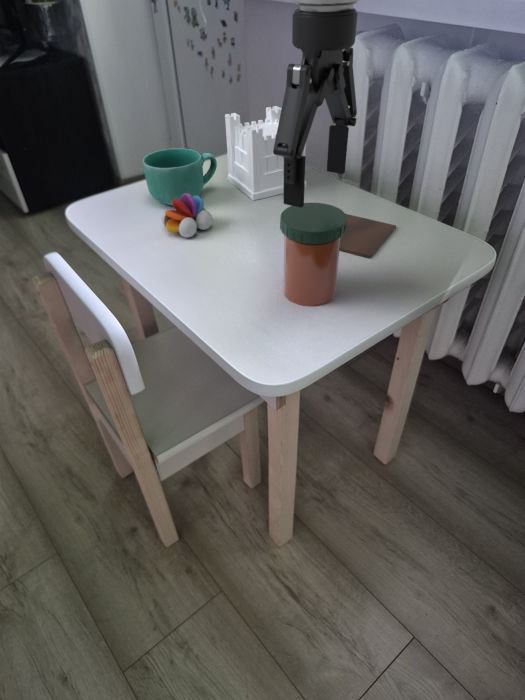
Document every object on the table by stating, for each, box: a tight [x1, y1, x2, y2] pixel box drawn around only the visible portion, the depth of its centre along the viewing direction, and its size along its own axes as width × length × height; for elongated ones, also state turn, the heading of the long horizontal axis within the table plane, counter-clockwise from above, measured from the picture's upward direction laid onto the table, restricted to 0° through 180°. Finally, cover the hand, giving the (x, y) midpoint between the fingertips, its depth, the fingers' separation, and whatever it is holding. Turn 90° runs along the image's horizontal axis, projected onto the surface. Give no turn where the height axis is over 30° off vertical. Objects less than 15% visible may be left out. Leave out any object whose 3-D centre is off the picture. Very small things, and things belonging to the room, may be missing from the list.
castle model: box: [224, 105, 308, 201], centre depth 111 cm, size 14×14×15 cm
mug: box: [142, 147, 218, 207], centre depth 107 cm, size 17×13×10 cm
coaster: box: [340, 213, 397, 259], centre depth 96 cm, size 14×14×1 cm
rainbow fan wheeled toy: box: [161, 193, 214, 238], centre depth 96 cm, size 8×10×7 cm
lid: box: [279, 202, 347, 244], centre depth 73 cm, size 10×10×2 cm
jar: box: [282, 234, 341, 307], centre depth 77 cm, size 9×9×13 cm
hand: (315, 187), depth 69 cm, fingers open, 13 cm apart
